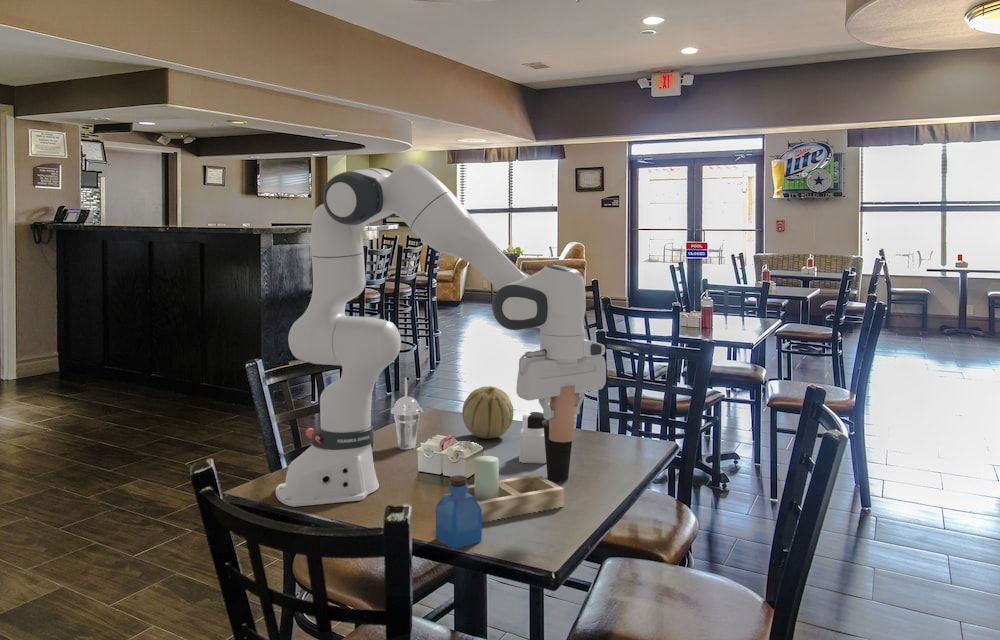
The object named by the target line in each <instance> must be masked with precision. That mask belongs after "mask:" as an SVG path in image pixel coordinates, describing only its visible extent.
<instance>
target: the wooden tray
mask: <svg viewBox="0 0 1000 640" xmlns="http://www.w3.org/2000/svg"><path fill="white" fill-rule="evenodd" d="M474 488H475V484H470V485H469V484H468V490H467V491H466V493H468V494H470V495H472V496H474ZM476 501H477V500H476ZM477 503H478V505H479V506H480V508H481V509H482V524H483V522H484V523H488V521H489V522H493V521H492V520H495V521H498V520H497V519H500V520H502V519H501V518H505V519H508V518H507V517H510V518H512V517H511V516H515V517H518V516H517V515H520V516H523V515H522V514H526V515H528V514H527V513H531V514H533V513H532V512H536V513H539V512H538V511H541V512H543V511H542V510H546V511H548V510H547V509H551V510H554V509H553V508H556V509H560V508H559V507H562V508H564V507H565V488H564V487H563V486H560V485H558V484H556V482H554V481H550V480H548V478H545V477H543V476H542V475H540V474H530V475H524V476H523V475H522V476H518V477H517V476H516V477H511V478H505V479H500V480H499V498H493V499H488V500H482V501H477Z"/></svg>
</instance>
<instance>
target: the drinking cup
mask: <svg viewBox="0 0 1000 640" xmlns="http://www.w3.org/2000/svg"><path fill="white" fill-rule="evenodd" d="M542 424H543V426H544V439H545V452H546V474H547V480H548V479H549V481H550V480H551V482H554V481H555V482H554V483H562V482H567V481H568V479H569V474H570V473H569V472H570V465H571V456H572V455H571V454H572V446H573V441H570V442H554V441H551V440H550V439H549V419H545V420H543V421H542ZM574 426H576V421H574Z"/></svg>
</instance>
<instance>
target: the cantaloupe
mask: <svg viewBox="0 0 1000 640" xmlns="http://www.w3.org/2000/svg"><path fill="white" fill-rule="evenodd" d="M461 410H462V421H463V423H464V425H465V427H466V429H467V430H468V432H469V433H471V434H472V435H473V436H475V437H478V438H480V439H487V440H490V439H496V438H499V437H500V436H503V435H504V434H505V433H506V432H507V431H508V430H509V429H510V427H511V425H512V422H513V419H514V414H515V413H514V406H513V403H512V400H511V399H510V397H509V395H508V394H507V393H506V392H505V391H503V390H502V389H500V388H498V387H496V386H492V385H491V386H490V385H489V386H481V387H478V388H476V389H474V390H471V392H470V393H469V395H467V397H466V399H465V401H464V403H463V406H462V409H461Z"/></svg>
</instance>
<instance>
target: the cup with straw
mask: <svg viewBox="0 0 1000 640" xmlns="http://www.w3.org/2000/svg"><path fill="white" fill-rule="evenodd" d="M408 381H410V378H409V377H408V376H407V377H404V396H401V397H399V398H398V399H397V400H396V402H395V403H394V405H393V407H392V408H391V410H390V413H391V414H392V415H393V419H394V422H395V429H396V436H397V437H396V439H397V444H398V448H399V449H400V450H413V449H415V448H416V446H417V445H416V443H417V437H418V435H417V434H418V427H419V426H418V425H419V421H420V416H421V415H420V414H422V413H423V411H424V410H423V408H422V407H421V406H420V404H419V402H418V400H416V398H414V397H411V396H408ZM412 448H413V449H412Z"/></svg>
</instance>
